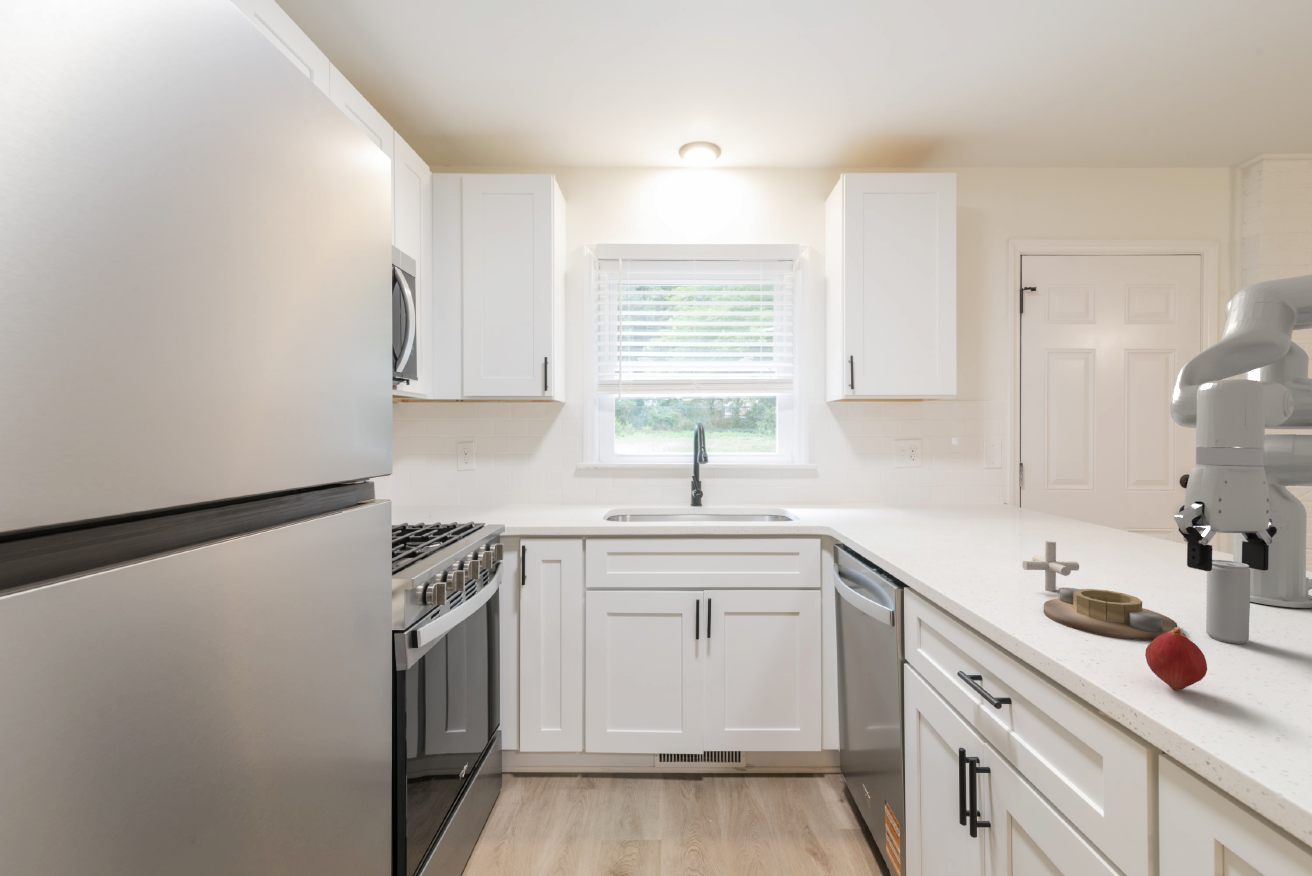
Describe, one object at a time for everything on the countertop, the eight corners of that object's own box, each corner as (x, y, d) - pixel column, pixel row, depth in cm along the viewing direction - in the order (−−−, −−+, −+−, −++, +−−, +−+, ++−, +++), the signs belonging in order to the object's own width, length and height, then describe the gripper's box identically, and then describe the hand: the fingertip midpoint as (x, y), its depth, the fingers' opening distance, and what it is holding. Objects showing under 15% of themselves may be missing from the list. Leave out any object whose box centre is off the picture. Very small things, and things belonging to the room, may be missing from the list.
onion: (1133, 680, 75) (1133, 620, 75) (1173, 678, 76) (1173, 618, 75) (1177, 701, 69) (1177, 636, 69) (1220, 698, 70) (1220, 634, 70)
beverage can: (1237, 635, 90) (1238, 560, 90) (1257, 646, 86) (1258, 568, 86) (1199, 632, 92) (1199, 558, 92) (1217, 643, 88) (1218, 565, 87)
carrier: (1107, 602, 108) (1107, 580, 108) (1209, 637, 90) (1209, 611, 90) (1019, 606, 106) (1019, 584, 106) (1105, 642, 88) (1106, 616, 88)
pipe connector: (1061, 583, 121) (1061, 536, 120) (1092, 597, 111) (1093, 546, 111) (1011, 582, 122) (1011, 536, 121) (1038, 596, 112) (1038, 546, 112)
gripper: (1250, 459, 93) (1248, 563, 93) (1155, 457, 91) (1153, 564, 91) (1307, 461, 86) (1305, 574, 86) (1205, 459, 84) (1203, 575, 84)
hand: (1227, 568), depth 88 cm, fingers open, 9 cm apart
